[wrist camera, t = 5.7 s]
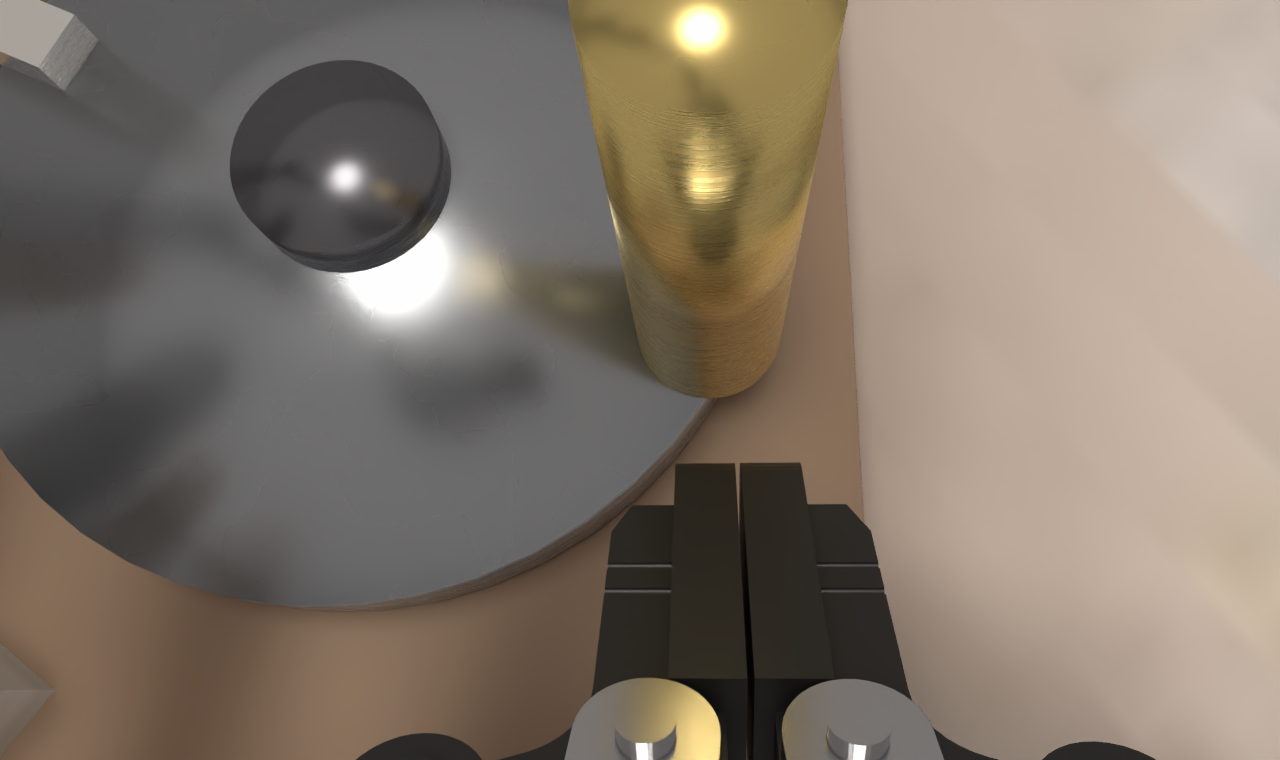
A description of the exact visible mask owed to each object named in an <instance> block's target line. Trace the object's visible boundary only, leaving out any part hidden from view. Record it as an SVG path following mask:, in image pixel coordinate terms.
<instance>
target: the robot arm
mask: <svg viewBox="0 0 1280 760" xmlns="http://www.w3.org/2000/svg"><path fill="white" fill-rule="evenodd" d="M746 746H747V760H997V759H994V758H990V757H987V756H984V755H981V754H977V753H974V752H972V751H970V750H968V749H965V748H963V747H961V746H959V745H957V744H955V743H954V742H952V741H950V740H949V739H947V738H946V737H944V736H943V735H942V734H940V733H939V732H938V731H936V730H935V729H934V728H933V727H932V725H931V723H930V721H929V720H928V718H927V717H926V715H925V714H924V713H923V711H922V710H921V709H920V708H919V707H918V706H917V705H916V704H915V703H914V702H913V701H912V699H911V696H910V693H909V690H908V687H907V682H906V678H905V674H904V670H903V665H902V661H901V657H900V653H899V648H898V644H897V640H896V636H895V632H894V627H893V623H892V619H891V615H890V610H889V606H888V602H887V598H886V594H884V585H883V581H882V577H881V572H880V568H878V560H877V555H876V551H875V547H874V543H873V538H872V534H871V531H870V530H869V529H868V527H867V526H866V525H865V524H864V523H863V522H862V521H861V520H860V519H859V517H858V516H857V515H856V514H855V513H854V512H853V511H852V510H851V509H850V507H849V506H848V505H847V504H807V497H806V491H805V485H804V478H803V472H802V466H801V463H800V462H792V463H740V475H739V522H738V504H737V486H736V469H735V463H677V464H675V488H674V505H632V506H631V507H630V508H629V510H628V511H627V512H626V514H625V515H624V516H623V517H622V519H621V520H620V521H619V523H618V524H617V525H616V527H615V528H614V529H613V530H612V532H611V539H610V547H609V556H608V569H607V573H606V581H605V594H604V598H603V607H602V615H601V624H600V632H599V641H598V649H597V658H596V666H595V675H594V683H593V690H592V694H591V698H590V699H589V700H588V701H587V702H586V703H585V704H584V705H583V707H582V708H581V709H580V711H579V712H578V714H577V716H576V717H575V720H574V723H573V726H572V727H571V728H570V729H568V730H567V731H566V732H565V733H564V734H562V735H561V736H559V737H558V738H556V739H555V740H553V741H551V742H550V743H548V744H545V745H543V746H541V747H539V748H537V749H534V750H531V751H528V752H525V753H521V754H517V755H514V756H510V757H506V758H502V759H499V760H746ZM356 760H482V759H481V758H480V756H479V755H478V753H477V752H476V751H474V750H473V749H472V748H471V747H470V746H469V745H467V744H466V743H464V742H462V741H461V740H458V739H456V738H453V737H451V736H447V735H442V734H436V733H417V734H409V735H405V736H400V737H397V738H394V739H391V740H388V741H385V742H383V743H381V744H379V745H377V746H375V747H373V748H372V749H370V750H369V751H367V752H365V753H364V754H362V755H361V756H360V757H358V758H357V759H356ZM1043 760H1155V759H1154V758H1152V757H1150V756H1148V755H1145V754H1143V753H1141V752H1139V751H1136V750H1133V749H1130V748H1127V747H1125V746H1120V745H1116V744H1111V743H1104V742H1079V743H1073V744H1068V745H1066V746H1063V747H1060V748H1058V749H1056V750H1054V751H1053V752H1051V753H1049V754H1048V755H1047V756H1046V757H1045V758H1044V759H1043Z"/></svg>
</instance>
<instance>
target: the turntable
mask: <svg viewBox="0 0 1280 760" xmlns="http://www.w3.org/2000/svg"><path fill="white" fill-rule="evenodd" d="M40 1H43V2H45V3H47V2H48V1H49V0H40ZM1 66H2V65H1V64H0V68H1ZM792 462H800V463H801V466H802V472H803V478H804V485H805V491H806V497H807V504H847V505H848V506H849V507H850V509H851V510H852V511H853V512H854V513H855V514H856V515H857V516H858V517H859V519H860V520H861V521H862V522H863V523H864V516H863V498H862V480H861V462H860V444H859V425H858V407H857V389H856V371H855V353H854V335H853V317H852V299H851V281H850V263H849V245H848V227H847V209H846V191H845V173H844V154H843V136H842V118H841V100H840V82H839V64H838V53H837V58H836V63H835V68H834V73H833V78H832V83H831V88H830V93H829V98H828V103H827V108H826V113H825V119H824V124H823V129H822V134H821V139H820V144H819V149H818V154H817V159H816V164H815V169H814V174H813V179H812V184H811V189H810V194H809V199H808V204H807V209H806V214H805V219H804V224H803V229H802V234H801V239H800V244H799V249H798V254H797V259H796V264H795V269H794V274H793V279H792V284H791V289H790V294H789V299H788V304H787V309H786V314H785V319H784V324H783V329H782V334H781V339H780V343H779V348H778V351H777V354H776V356H775V359H774V360H773V362H772V364H771V366H770V367H769V369H768V370H767V371H766V373H765V374H764V375H763V376H762V377H761V378H760V379H759V380H758V381H757V382H755V383H754V384H753V385H751V386H750V387H748V388H747V389H745V390H743V391H741V392H739V393H736V394H734V395H730V396H727V397H721V398H717V400H716V402H715V403H714V405H713V407H712V409H711V411H710V413H709V414H708V416H707V417H706V418H705V420H704V421H703V422H702V424H701V425H700V426H699V428H698V429H697V431H696V432H695V433H694V435H693V436H692V437H691V439H690V440H689V441H688V443H687V444H686V445H685V447H684V448H683V450H682V451H681V452H680V454H679V455H678V456H677V458H676V459H675V460H674V461H673V462H672V463H671V464H670V465H669V466H668V467H667V468H666V469H665V470H664V471H663V472H662V473H661V474H660V475H659V476H658V477H657V478H656V479H655V480H654V482H653V483H652V484H651V485H650V486H649V487H648V488H647V489H646V490H645V491H644V492H643V493H642V494H641V495H640V496H639V497H638V498H637V499H636V500H634V501H633V502H632V503H631V504H629V505H628V506H627V507H626V508H624V509H623V510H622V511H621V512H619V513H618V514H617V515H616V516H614V517H613V518H612V519H611V520H609V521H608V522H607V523H606V524H604V525H603V526H602V527H601V528H599V529H598V530H597V531H596V532H594V533H593V534H591V535H590V536H588V537H586V538H585V539H583V540H581V541H580V542H578V543H577V544H575V545H573V546H572V547H570V548H568V549H567V550H565V551H563V552H562V553H560V554H558V555H557V556H555V557H554V558H552V559H550V560H549V561H547V562H545V563H543V564H541V565H539V566H536V567H534V568H532V569H530V570H527V571H525V572H523V573H521V574H518V575H516V576H514V577H512V578H509V579H507V580H505V581H503V582H500V583H498V584H496V585H494V586H490V587H487V588H484V589H480V590H477V591H473V592H470V593H467V594H463V595H460V596H457V597H453V598H450V599H446V600H443V601H440V602H435V603H428V604H422V605H416V606H409V607H403V608H397V609H390V610H384V611H347V612H323V611H314V610H306V609H297V608H288V607H280V606H272V605H266V604H261V603H256V602H250V601H245V600H239V599H234V598H231V597H227V596H223V595H219V594H215V593H212V592H208V591H204V590H200V589H196V588H193V587H189V586H185V585H181V584H178V583H176V582H174V581H171V580H169V579H167V578H164V577H162V576H159V575H157V574H155V573H152V572H150V571H148V570H145V569H143V568H141V567H138V566H136V565H134V564H131V563H129V562H127V561H126V560H124V559H122V558H121V557H119V556H117V555H116V554H114V553H113V552H111V551H109V550H108V549H106V548H104V547H103V546H101V545H100V544H98V543H96V542H95V541H93V540H92V539H90V538H88V537H87V536H85V535H83V534H82V533H81V532H79V531H78V530H77V529H76V528H75V527H74V526H72V525H71V524H70V523H69V522H68V521H67V520H65V519H64V518H63V517H62V516H61V515H60V514H58V513H57V512H56V511H55V510H54V509H53V508H51V507H50V506H49V505H48V504H47V503H46V502H44V501H43V500H42V499H41V498H40V497H39V496H38V494H37V493H36V492H35V491H34V490H33V488H32V487H31V486H30V485H29V484H28V483H27V481H26V480H25V479H24V478H23V477H22V476H21V474H20V473H19V472H18V471H17V470H16V469H15V467H14V466H13V465H12V464H11V463H10V462H9V460H8V459H7V458H6V456H5V454H4V453H3V451H2V449H1V448H0V760H356V759H357V758H358V757H360V756H361V755H362V754H364V753H365V752H367V751H369V750H370V749H372V748H373V747H375V746H377V745H379V744H381V743H383V742H385V741H388V740H391V739H394V738H397V737H400V736H405V735H409V734H417V733H436V734H442V735H447V736H451V737H453V738H456V739H458V740H461V741H462V742H464V743H466V744H467V745H469V746H470V747H471V748H472V749H473V750H474V751H476V752H477V753H478V755H479V756H480V758H481V759H482V760H499V759H502V758H506V757H510V756H514V755H517V754H521V753H525V752H528V751H531V750H534V749H537V748H539V747H541V746H543V745H545V744H548V743H550V742H551V741H553V740H555V739H556V738H558V737H559V736H561V735H562V734H564V733H565V732H566V731H567V730H568V729H570V728H571V727H572V726H573V723H574V720H575V717H576V716H577V714H578V712H579V711H580V709H581V708H582V707H583V705H584V704H585V703H586V702H587V701H588V700H589V699H590V698H591V694H592V690H593V683H594V675H595V666H596V658H597V649H598V641H599V632H600V624H601V615H602V607H603V598H604V594H605V581H606V573H607V569H608V556H609V547H610V539H611V532H612V530H613V529H614V528H615V527H616V525H617V524H618V523H619V521H620V520H621V519H622V517H623V516H624V515H625V514H626V512H627V511H628V510H629V508H630V507H631V506H632V505H674V488H675V464H677V463H735V469H736V486H737V504H738V522H739V475H740V463H792ZM746 760H747V746H746Z"/></svg>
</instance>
